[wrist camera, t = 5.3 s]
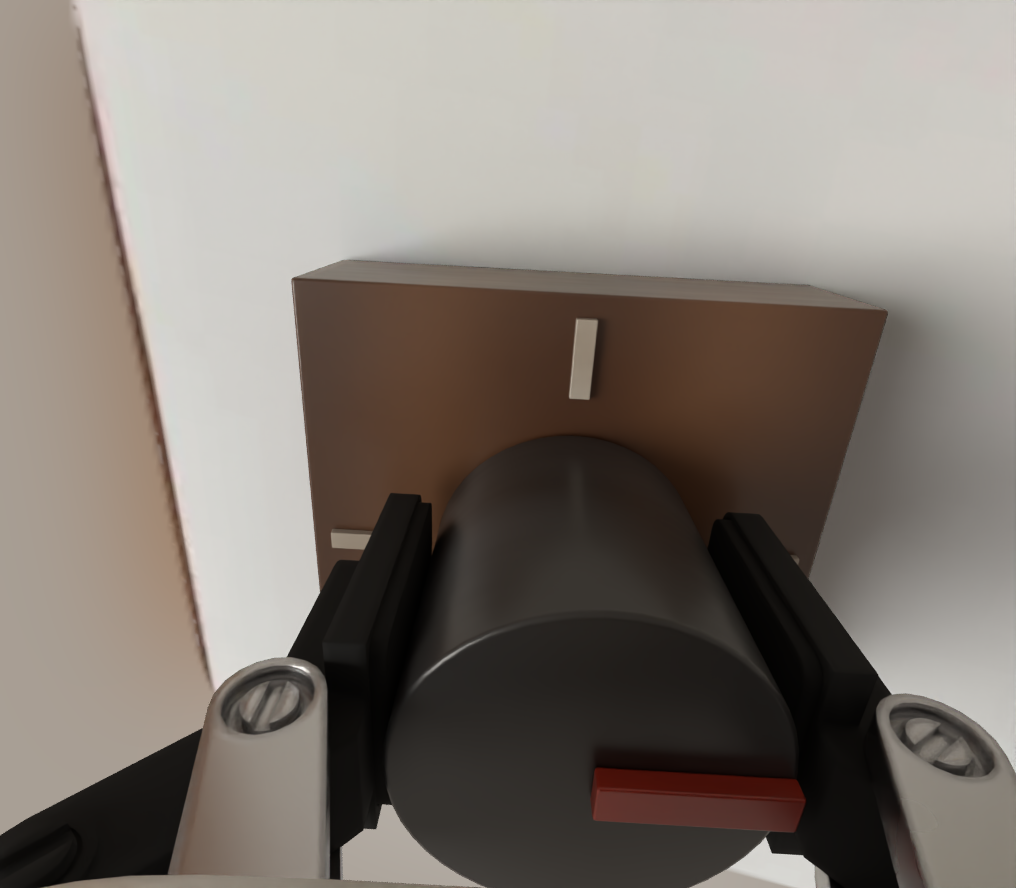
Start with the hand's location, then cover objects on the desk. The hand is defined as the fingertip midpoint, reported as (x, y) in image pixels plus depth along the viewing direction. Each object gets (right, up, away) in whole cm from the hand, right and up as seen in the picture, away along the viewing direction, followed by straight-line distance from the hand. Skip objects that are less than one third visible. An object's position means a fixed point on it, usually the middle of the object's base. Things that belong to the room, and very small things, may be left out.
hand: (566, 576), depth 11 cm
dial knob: (0, 0, +1) cm, 1 cm away
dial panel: (0, +1, +4) cm, 4 cm away
